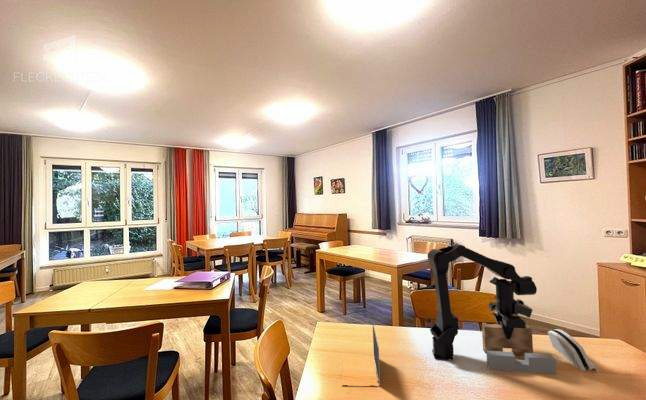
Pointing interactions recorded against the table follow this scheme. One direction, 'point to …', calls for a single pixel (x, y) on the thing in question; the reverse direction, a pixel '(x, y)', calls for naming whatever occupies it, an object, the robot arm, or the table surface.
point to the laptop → (376, 354)
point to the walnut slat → (497, 339)
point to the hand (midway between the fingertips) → (506, 337)
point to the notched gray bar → (521, 362)
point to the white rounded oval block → (570, 349)
